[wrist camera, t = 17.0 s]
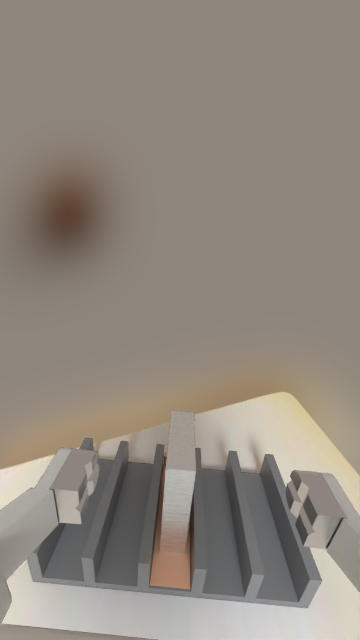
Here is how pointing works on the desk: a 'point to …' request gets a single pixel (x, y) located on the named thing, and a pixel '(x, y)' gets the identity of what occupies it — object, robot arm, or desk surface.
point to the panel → (178, 482)
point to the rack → (202, 537)
